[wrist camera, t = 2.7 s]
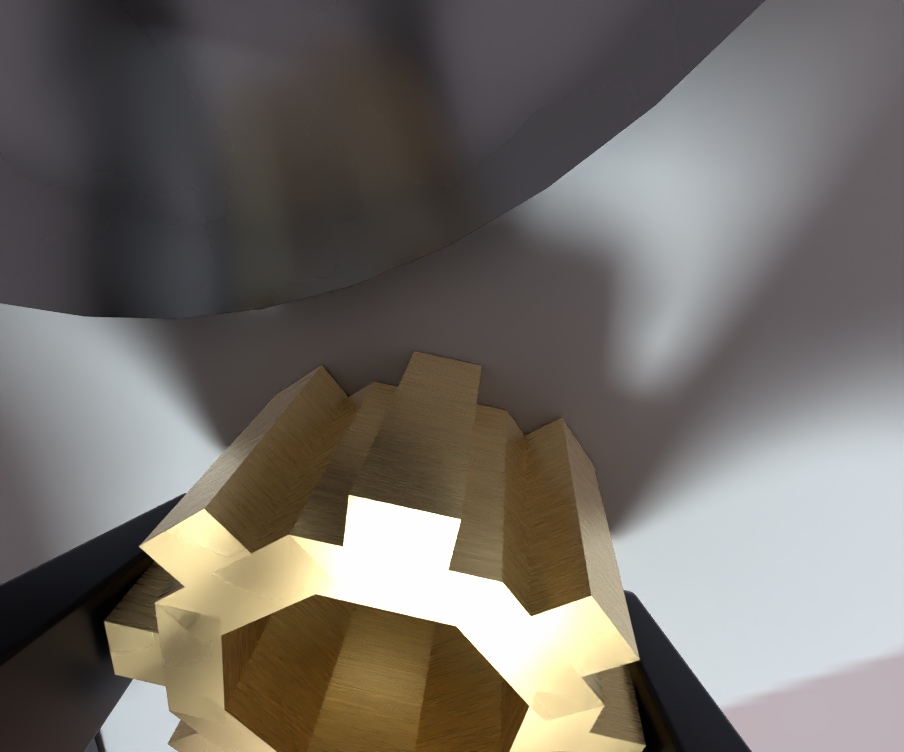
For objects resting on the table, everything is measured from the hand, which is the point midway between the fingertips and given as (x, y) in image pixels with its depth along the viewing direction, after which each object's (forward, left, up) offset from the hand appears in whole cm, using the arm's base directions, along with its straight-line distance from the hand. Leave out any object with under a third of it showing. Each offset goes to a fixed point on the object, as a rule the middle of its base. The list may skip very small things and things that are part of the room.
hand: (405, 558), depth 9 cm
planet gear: (0, 0, -1) cm, 1 cm away
